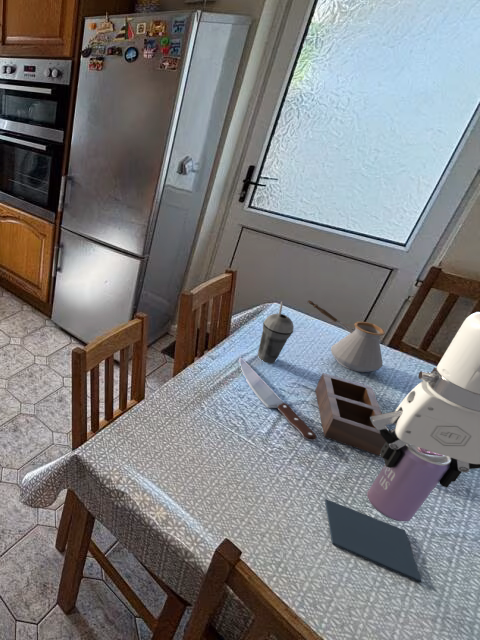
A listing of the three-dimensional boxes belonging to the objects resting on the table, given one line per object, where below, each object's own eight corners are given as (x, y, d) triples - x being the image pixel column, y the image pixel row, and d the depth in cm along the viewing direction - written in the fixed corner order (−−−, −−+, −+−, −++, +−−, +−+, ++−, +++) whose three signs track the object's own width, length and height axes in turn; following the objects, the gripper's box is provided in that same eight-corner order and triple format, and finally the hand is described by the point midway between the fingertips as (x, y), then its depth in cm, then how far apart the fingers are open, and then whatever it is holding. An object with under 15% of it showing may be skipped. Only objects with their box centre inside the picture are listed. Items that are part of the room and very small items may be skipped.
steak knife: (297, 442, 97) (300, 436, 96) (224, 359, 125) (226, 354, 124) (317, 443, 97) (320, 437, 96) (240, 360, 125) (242, 355, 124)
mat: (403, 531, 79) (405, 530, 79) (420, 582, 71) (421, 581, 71) (324, 500, 85) (325, 498, 84) (332, 544, 77) (332, 542, 77)
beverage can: (418, 528, 71) (463, 469, 64) (375, 517, 72) (415, 459, 66) (398, 497, 76) (438, 439, 69) (358, 487, 77) (394, 430, 71)
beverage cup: (284, 368, 121) (307, 311, 112) (255, 363, 123) (275, 306, 114) (276, 353, 127) (298, 298, 118) (249, 348, 129) (268, 294, 121)
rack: (315, 389, 113) (322, 372, 110) (362, 403, 108) (372, 386, 105) (324, 437, 99) (333, 418, 96) (379, 455, 94) (390, 437, 91)
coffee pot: (382, 365, 121) (404, 323, 115) (373, 382, 115) (396, 338, 109) (297, 332, 137) (312, 293, 130) (284, 345, 130) (299, 305, 124)
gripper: (395, 383, 63) (351, 463, 71) (569, 430, 55) (497, 515, 63) (383, 356, 69) (343, 433, 77) (539, 395, 61) (477, 477, 68)
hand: (413, 469), depth 70 cm, fingers closed on beverage can, 6 cm apart
